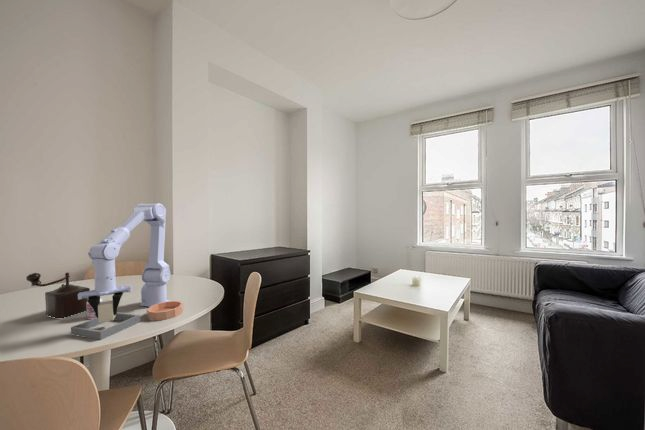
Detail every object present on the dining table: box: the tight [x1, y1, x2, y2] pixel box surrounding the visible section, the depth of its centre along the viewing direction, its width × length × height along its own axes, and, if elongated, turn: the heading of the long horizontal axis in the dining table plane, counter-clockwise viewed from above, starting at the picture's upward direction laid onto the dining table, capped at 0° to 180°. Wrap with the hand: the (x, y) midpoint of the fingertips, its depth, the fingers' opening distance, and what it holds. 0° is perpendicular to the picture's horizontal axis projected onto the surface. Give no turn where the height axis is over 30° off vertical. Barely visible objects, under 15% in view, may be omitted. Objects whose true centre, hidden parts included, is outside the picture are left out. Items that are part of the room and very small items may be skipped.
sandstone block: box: [98, 299, 115, 323], centre depth 93 cm, size 4×4×6 cm
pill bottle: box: [86, 296, 104, 320], centre depth 103 cm, size 5×5×8 cm
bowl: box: [146, 300, 184, 321], centre depth 105 cm, size 12×12×3 cm
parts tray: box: [70, 311, 141, 340], centre depth 93 cm, size 14×14×2 cm
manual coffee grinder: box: [25, 272, 91, 319], centre depth 105 cm, size 16×11×18 cm
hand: (107, 315), depth 93 cm, fingers closed on sandstone block, 4 cm apart
